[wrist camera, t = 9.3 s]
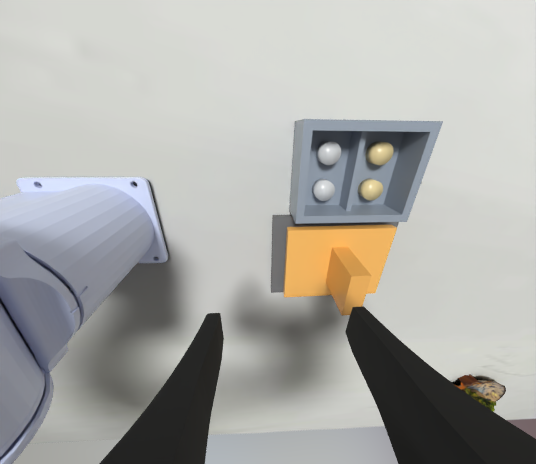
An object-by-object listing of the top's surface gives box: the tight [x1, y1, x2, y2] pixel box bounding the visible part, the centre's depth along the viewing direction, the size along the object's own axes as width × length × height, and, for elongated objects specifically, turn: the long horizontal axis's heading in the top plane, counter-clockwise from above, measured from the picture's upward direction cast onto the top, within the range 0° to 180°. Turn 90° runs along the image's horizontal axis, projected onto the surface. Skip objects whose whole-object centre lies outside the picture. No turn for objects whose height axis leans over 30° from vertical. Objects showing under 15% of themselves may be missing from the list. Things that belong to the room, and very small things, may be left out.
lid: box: [283, 225, 397, 315], centre depth 18 cm, size 10×8×6 cm
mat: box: [271, 215, 399, 293], centre depth 20 cm, size 12×9×1 cm
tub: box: [289, 119, 443, 224], centre depth 15 cm, size 9×7×3 cm
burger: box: [455, 375, 506, 411], centre depth 33 cm, size 12×12×8 cm
